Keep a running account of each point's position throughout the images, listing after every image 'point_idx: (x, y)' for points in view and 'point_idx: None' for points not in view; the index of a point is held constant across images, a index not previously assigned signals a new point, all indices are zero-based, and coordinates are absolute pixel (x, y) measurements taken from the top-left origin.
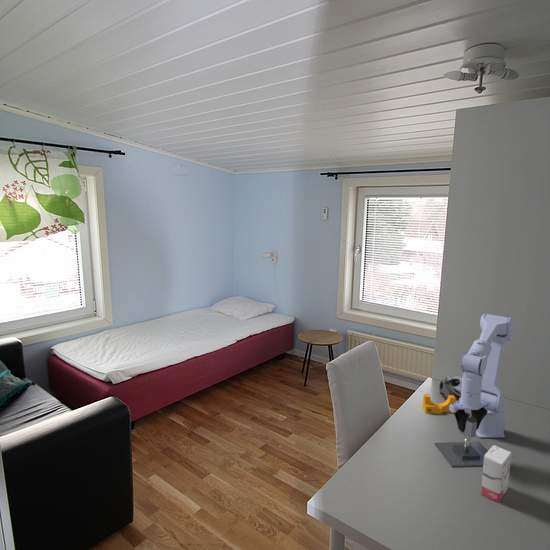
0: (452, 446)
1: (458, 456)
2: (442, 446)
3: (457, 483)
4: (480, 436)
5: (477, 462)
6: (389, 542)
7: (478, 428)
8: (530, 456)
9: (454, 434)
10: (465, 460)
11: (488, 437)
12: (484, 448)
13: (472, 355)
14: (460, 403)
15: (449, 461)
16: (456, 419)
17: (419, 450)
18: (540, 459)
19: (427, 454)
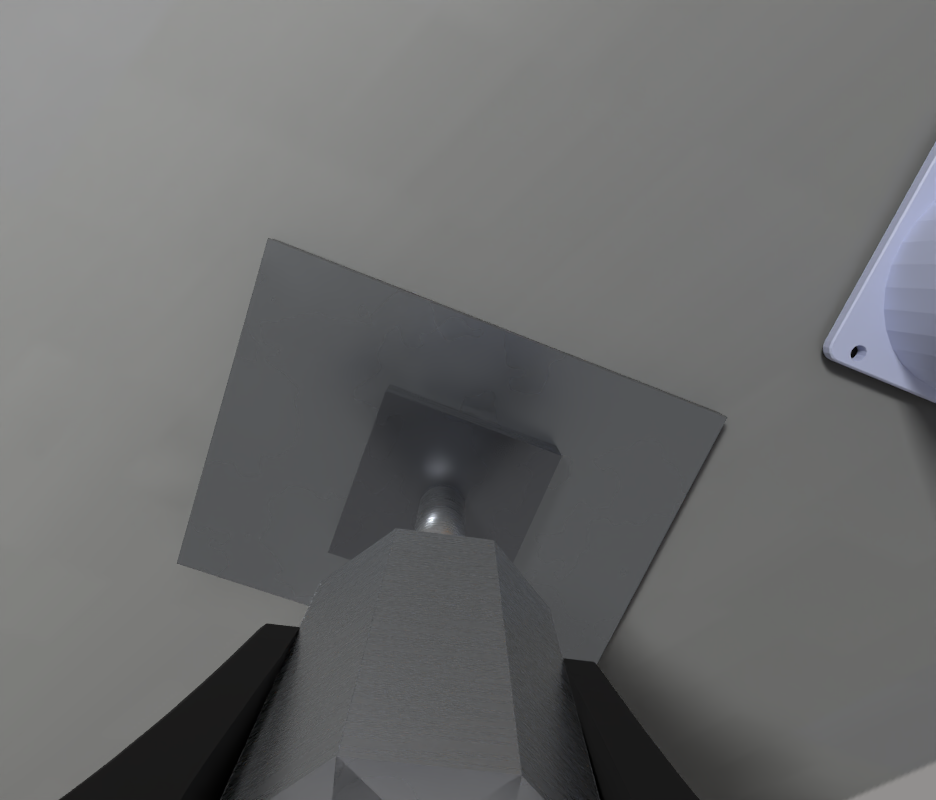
0: (403, 367)
1: (327, 504)
2: (302, 325)
3: (90, 693)
4: (835, 356)
5: None
6: None
7: (934, 298)
8: (909, 692)
9: (640, 182)
10: (343, 563)
11: (899, 388)
12: (665, 511)
13: None
14: None
15: (192, 522)
16: (106, 773)
17: (44, 257)
18: (931, 737)
19: (86, 342)
